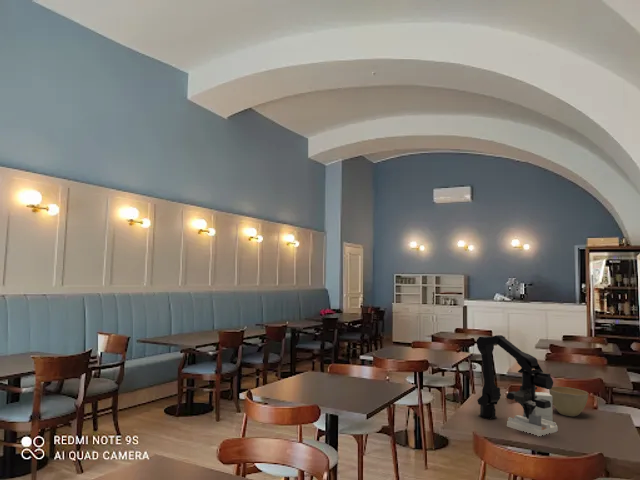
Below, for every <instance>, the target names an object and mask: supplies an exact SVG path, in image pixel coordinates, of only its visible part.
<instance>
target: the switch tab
mask: <svg viewBox="0 0 640 480" xmlns="http://www.w3.org/2000/svg"><path fill="white" fill-rule="evenodd" d="M529 423H531V424H534V425H538V426H541V416H540V415H536V414H529Z"/></svg>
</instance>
